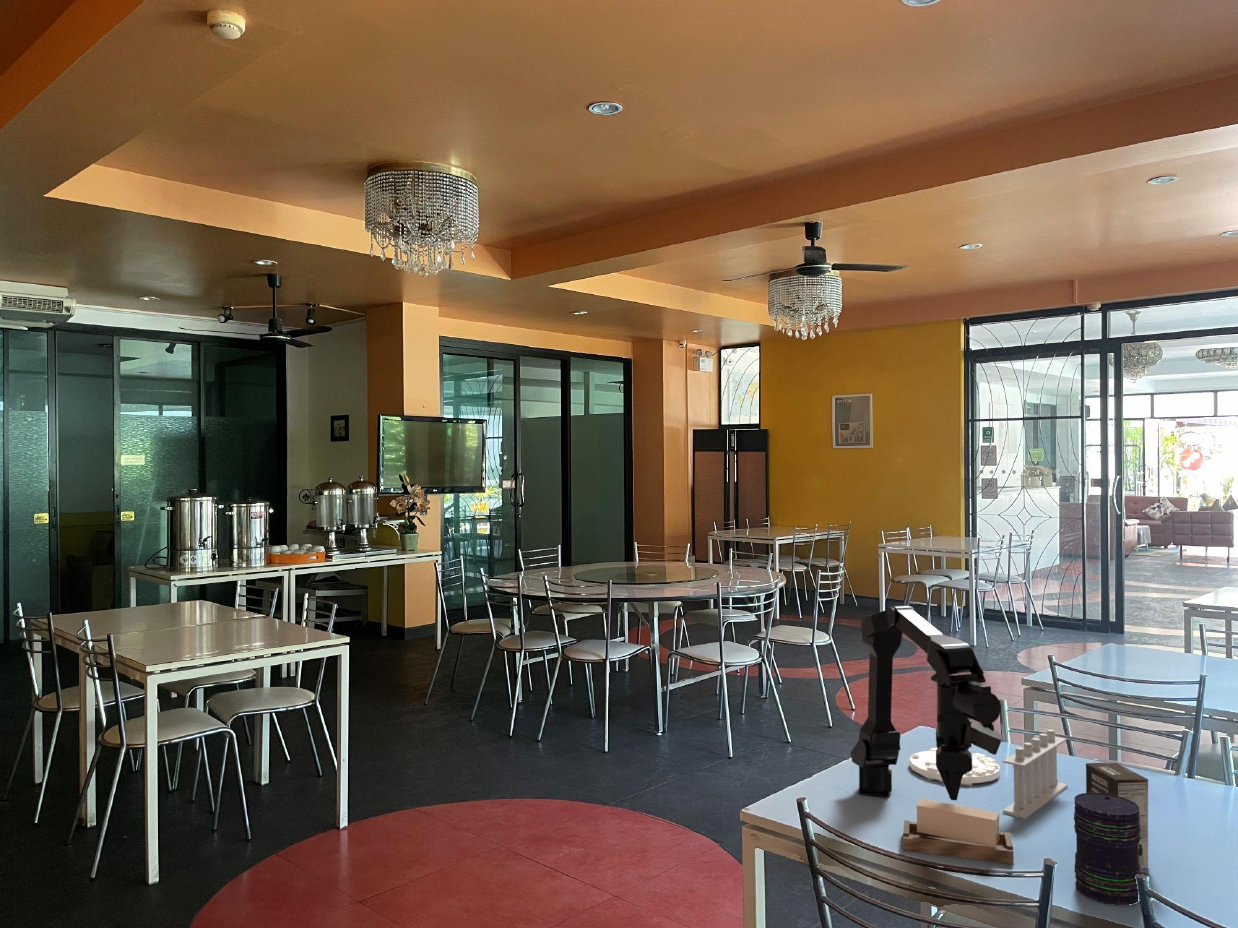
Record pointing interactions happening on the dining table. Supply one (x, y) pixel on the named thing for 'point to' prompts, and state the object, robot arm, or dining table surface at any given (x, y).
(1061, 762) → the dining table surface
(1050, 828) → the dining table surface
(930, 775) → the embossed medallion
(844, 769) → the dining table surface
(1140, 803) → the coffee box
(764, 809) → the dining table surface
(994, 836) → the clay bar
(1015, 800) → the test tube rack
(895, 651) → the robot arm
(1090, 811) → the storage jar
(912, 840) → the cradle
